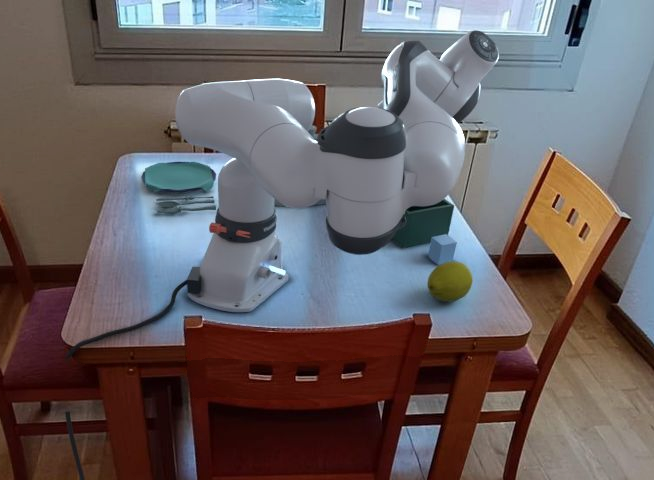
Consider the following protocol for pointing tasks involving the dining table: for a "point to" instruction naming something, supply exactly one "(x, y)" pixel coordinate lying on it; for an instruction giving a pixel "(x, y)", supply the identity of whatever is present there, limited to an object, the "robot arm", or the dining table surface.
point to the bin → (424, 224)
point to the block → (442, 249)
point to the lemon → (450, 281)
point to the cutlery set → (179, 183)
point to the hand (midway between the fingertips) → (405, 120)
